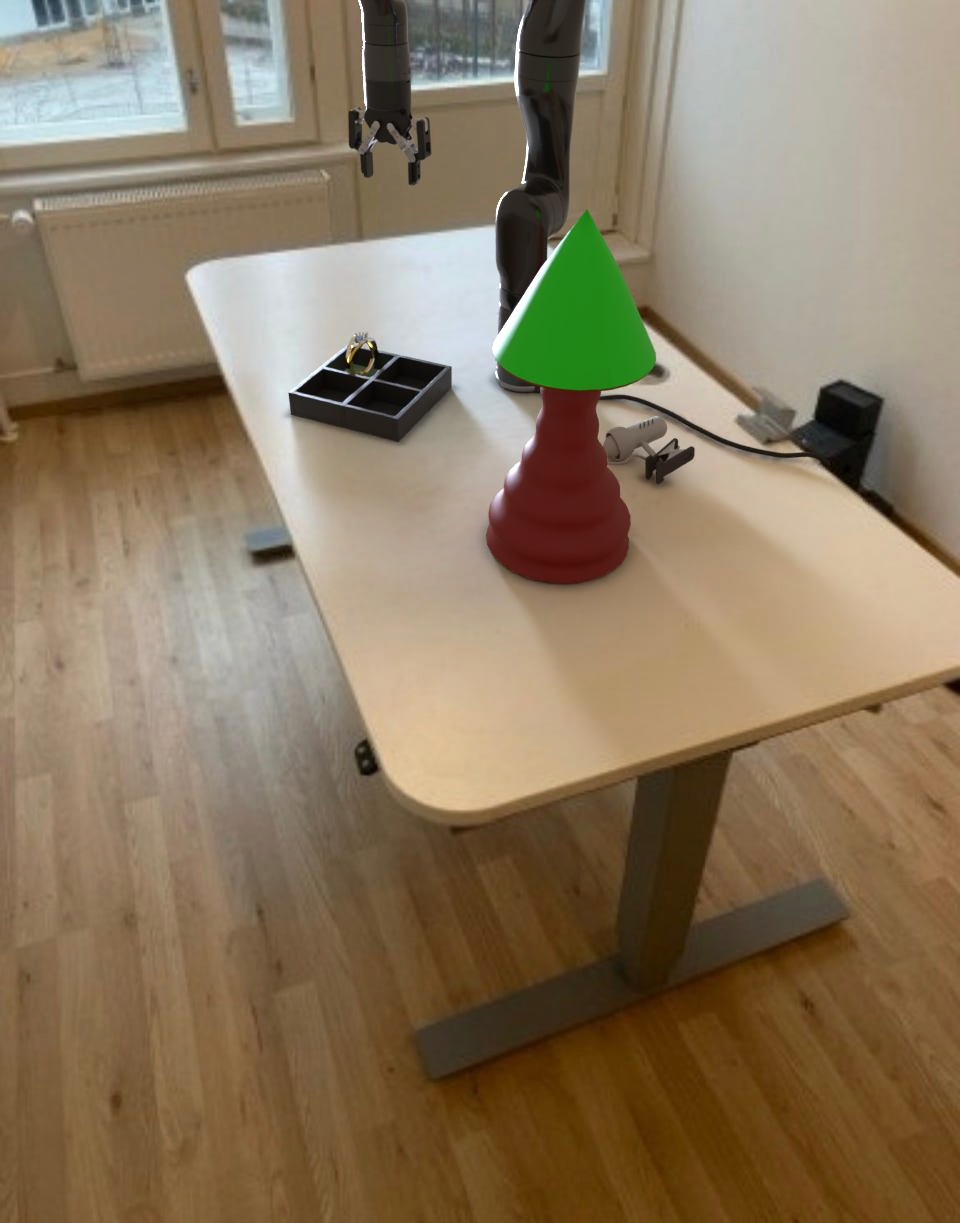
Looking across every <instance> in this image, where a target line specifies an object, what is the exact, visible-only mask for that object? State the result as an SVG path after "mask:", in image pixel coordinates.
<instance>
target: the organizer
mask: <svg viewBox="0 0 960 1223" xmlns="http://www.w3.org/2000/svg"><path fill="white" fill-rule="evenodd" d="M357 345H358V344H354V345H353V348H352V352H353V350H354V349H355V347H356V346H357ZM347 347H348V344H347V345H346V346H344V347H343V348H342V349H341V350H339V351H338V352H337V353H336V354H334V355H333V356H332V357H330V358H329V359H328V360H327V361H326V362H324V363H323V364H322V365H321V366H319V367H318V368H316V370H314V371H313V372H311V374H310V375H308V376H307V377H306V378H304V379H303V380H302V381H301V382H299V383H298V384H297V385H296V386H295V387H293V388H292V389H291V390H289V391H288V392H287V393H288V402H289V410H290V416H294V417H298V418H302V419H305V420H309V421H314V422H318V423H322V424H326V425H330V426H333V427H336V428H337V427H338V428H341V429H346V430H349V431H353V432H357V433H361V434H364V435H365V434H366V435H369V436H372V437H375V438H381V439H385V440H388V441H393V442H396V443H399V442H401V441H402V439H404V438H405V436H406V435H407V434H408V433H409V432H410V431H412V429H413V428H414V427H415V426H416V425H417V424H419V422H420V421H421V420H422V419H423V418H424V417H425V416H426V415H428V413H429V412H430V411H431V410H432V409H433V408H434V407H435V406H436V405H437V404H438V403H439V402H440V401H441V400H442V399H443V398H444V397H445V395H447V394H448V393H449V392H450V391H451V390H452V389H453V386H452V384H453V383H452V382H453V376H452V375H453V372H452V371H453V370H452V369H453V368H452V366H451V365H447V364H442V363H439V362H434V361H429V360H425V359H421V358H415V357H411V356H407V355H402V354H398V353H393V352H388V351H384V350H380V349H378V356H377V361H376V364H375V366H374V368H373V370H372V371H371V372H370V373H369V374H368V375H367V376H361V375H357V374H358V373H360V371H364V370H365V369H366V368H367V367H368V365H369V363H370V359H371V351H370V348H369V347H368V346H362V347H361V348H360V350H359V351H358V353H357V355H356V357H355V359H354V362H353V369H354V372H355V373H356V374H353V373H349V372H348V370H347V368H346V352H347ZM352 352H351V353H352Z"/></svg>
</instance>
